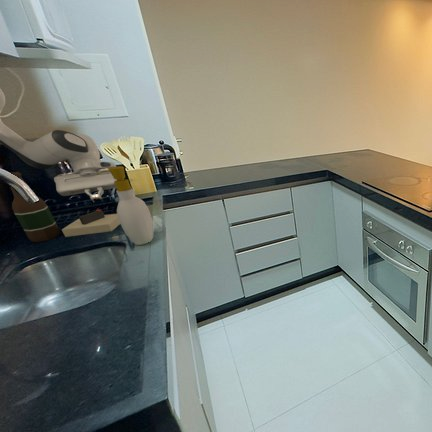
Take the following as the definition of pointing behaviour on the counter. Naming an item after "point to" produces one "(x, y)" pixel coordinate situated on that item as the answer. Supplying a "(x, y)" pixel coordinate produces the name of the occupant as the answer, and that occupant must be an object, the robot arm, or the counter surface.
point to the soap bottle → (131, 210)
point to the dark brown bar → (91, 217)
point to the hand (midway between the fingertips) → (96, 199)
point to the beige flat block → (92, 226)
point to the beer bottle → (34, 217)
